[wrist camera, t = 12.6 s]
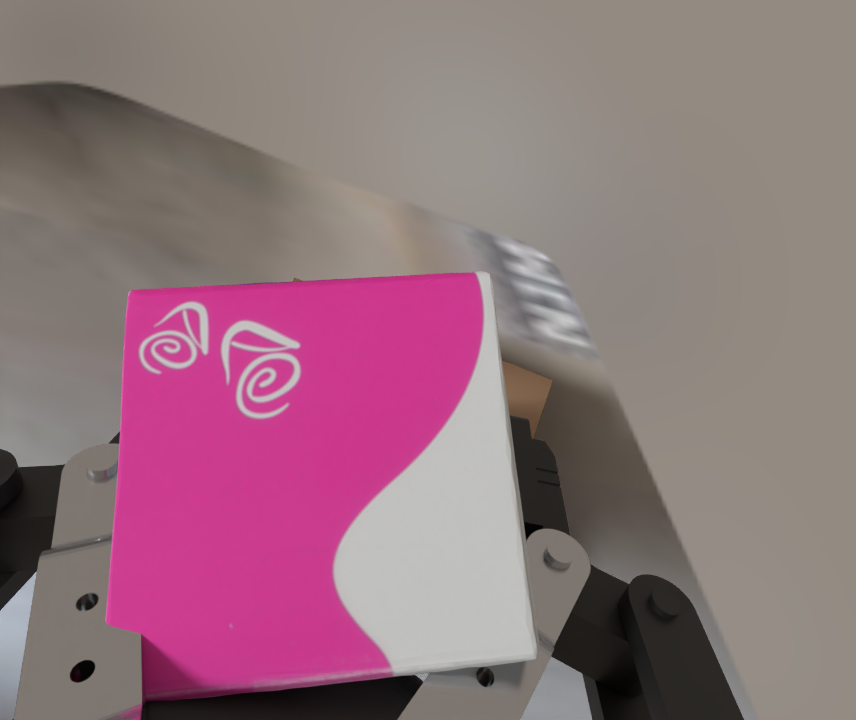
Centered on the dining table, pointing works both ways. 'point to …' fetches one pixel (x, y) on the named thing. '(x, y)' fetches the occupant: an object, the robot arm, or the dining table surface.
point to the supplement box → (317, 485)
